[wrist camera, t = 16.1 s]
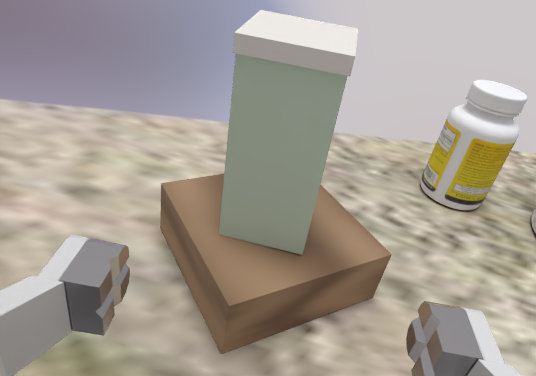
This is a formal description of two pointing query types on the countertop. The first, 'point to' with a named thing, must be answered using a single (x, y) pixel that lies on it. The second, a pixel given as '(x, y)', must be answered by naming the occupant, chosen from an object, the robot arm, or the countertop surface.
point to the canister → (281, 125)
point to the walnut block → (266, 265)
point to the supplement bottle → (473, 145)
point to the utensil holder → (534, 220)
